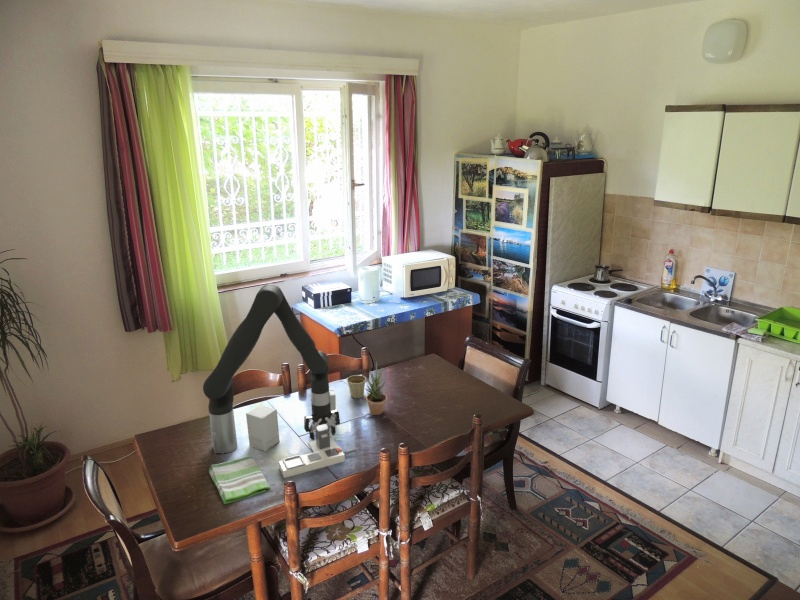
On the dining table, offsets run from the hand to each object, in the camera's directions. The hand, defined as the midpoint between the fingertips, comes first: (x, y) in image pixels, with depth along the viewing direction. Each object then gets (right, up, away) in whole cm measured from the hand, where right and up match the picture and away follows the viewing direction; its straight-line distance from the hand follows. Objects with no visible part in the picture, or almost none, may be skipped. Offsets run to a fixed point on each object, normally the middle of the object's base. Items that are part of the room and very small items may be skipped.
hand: (323, 436), depth 228 cm
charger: (0, -4, +1) cm, 4 cm away
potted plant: (+21, +4, +29) cm, 36 cm away
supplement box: (-25, -4, +4) cm, 25 cm away
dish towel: (-28, -12, -20) cm, 36 cm away
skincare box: (-1, +1, +19) cm, 19 cm away
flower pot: (+10, +9, +44) cm, 46 cm away
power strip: (0, -8, -10) cm, 12 cm away
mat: (0, -4, +1) cm, 4 cm away
